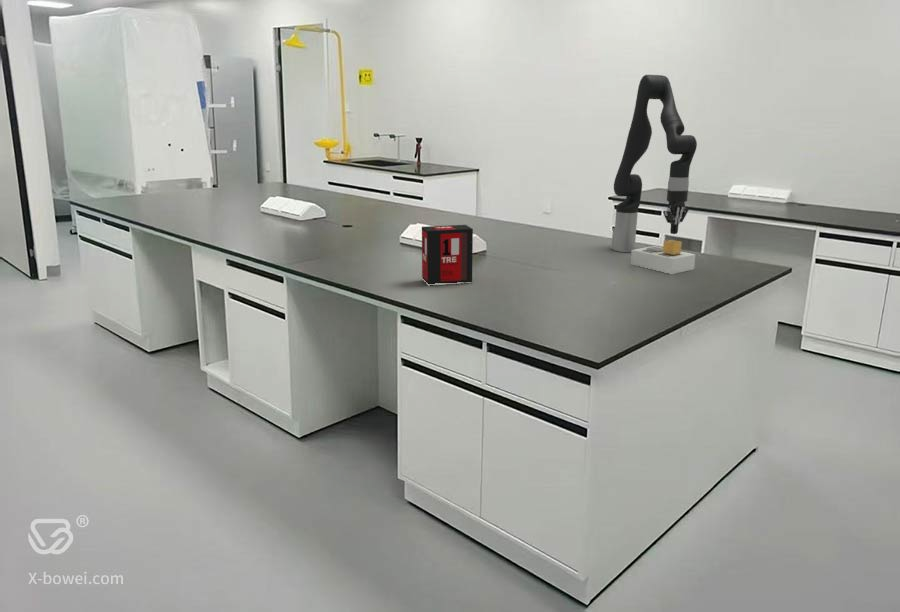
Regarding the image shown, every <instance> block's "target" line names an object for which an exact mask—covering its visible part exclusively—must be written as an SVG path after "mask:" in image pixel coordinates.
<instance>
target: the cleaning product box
mask: <svg viewBox="0 0 900 612" xmlns="http://www.w3.org/2000/svg"><path fill="white" fill-rule="evenodd" d="M473 237H474V229H473V228H472V227H470V226H469V225H467V224H456V225H454V224H451V225H434V226H433V225H432V226H431V225H429V226H428V225H427V226H421V274H422V275H421V277H422V278H423V279H424V280H425V281H426V282H427V283H428V284H435V283H457V282H472V283H473V252H474V251H473V247H474V245H473V244H474V242H473ZM422 278H421V279H422Z"/></svg>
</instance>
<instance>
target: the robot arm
mask: <svg viewBox="0 0 900 612" xmlns="http://www.w3.org/2000/svg"><path fill="white" fill-rule="evenodd" d="M636 93H637V94H636V100H635V105H634V111H633V116H632V120H631V124H630V127H629V130H628V135H627V138H626V143H625V147H624V150H623V155H622V157H621V158H622V159H621V161H620V164H619V167H618V170H617V171H616V175H615V178H614V182H613V192H614V194H615V196H618V197H625V198H624V200H623V201H622V202H620V203H618V204H616V207H615V221H614V227H613V228H612V234H611V235H612V237H611V250H613V251H615V252H621V253H631V252H632V250H634V249H635V248H636V235H637V224H638V212H639V211H638V210H639V207H640V204H641V198H642V191H643V181H642V178H641V176H640V175H639V174H635V173H634V174H633V173H632V171H633V169H634V167H635V165H636V164H637V162H638V161H639V160H640V159H642V157H643V155H644V154H645V153H646V152H647V151H648V149H649V146H650V142H651V139H652V134H653V130H652V129H653V128H652V125H651V122H650V118H649V116H648V105H649V101H650V100H659V101H660V102H661V103H662V105H663V106H662V110H661V112H660V117H659V118H660V124H661V126H662V128H663V130H664V132H665V138H666V149H667V150H668V152H669V153H670V154H671V155H681V156H680V158H679V159H677V160H674V161H672V162H671V163H670V167H669V178H668V184H667V190H666V202H668V204H667V209H666V210H663V211H662V212H663V216H664V218H665V221H666V222H667V223H669V224H670V231H669V232H670V234H671V235H677V234H678V232H679V225H680V224H681V223H683V222H684V220H685V218H686V216H687V214H688V212H689V208H686V207H685V206H686V202H687V201H688V197H689V185H690V181H689V180H690V178H689V177H690V167H691V164H692V161H693V159H694V156H695V153H696V150H697V146H698V143H697V139H696V137H695V136H693V135H690V134H684V132H685V125H684V123H683V120H682V118H681V116H680V114H679V112H678V108H677V106H676V101H675V96H674V93H673V88H672V86H671V81H670V80H669V78H668V77H667V76H666V75H661V74H660V75H659V74H645V75H643V76H642V77H641V79H640V81H639V85H638V88H637V92H636Z"/></svg>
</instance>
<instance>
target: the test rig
mask: <svg viewBox="0 0 900 612" xmlns="http://www.w3.org/2000/svg"><path fill="white" fill-rule="evenodd" d="M649 247H659V248H663V246H662V247H661V246H656V245H653V246H647V247H641V248H636V249H634V250H632V252H630V263H629V264H630V265H631V266H635V267H639V266H640V268H643V267H644V268H643V269H647V268H648V270H651V269H652V271H655V270H656V272H659V271H661V272H660V273H663V272H664V273H665V274H668V273H669V275H675V274H680V273H684V272H688V271H689V272H690V271H694V270H695V263H696V254H695V253H691V252H685V251H681V253H679V254H674V255H672V254H667V253H663V252H657V253H655V252H651V251H646V248H649Z"/></svg>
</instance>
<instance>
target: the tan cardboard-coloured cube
mask: <svg viewBox="0 0 900 612" xmlns="http://www.w3.org/2000/svg"><path fill="white" fill-rule="evenodd" d="M682 243H683V242H682V241H679V240H675V239H670V240H663V244H662V245H663V246H662V248H663V253H667V254H672V255H674V254H679V253H681V252H682V246H683V245H682Z"/></svg>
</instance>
